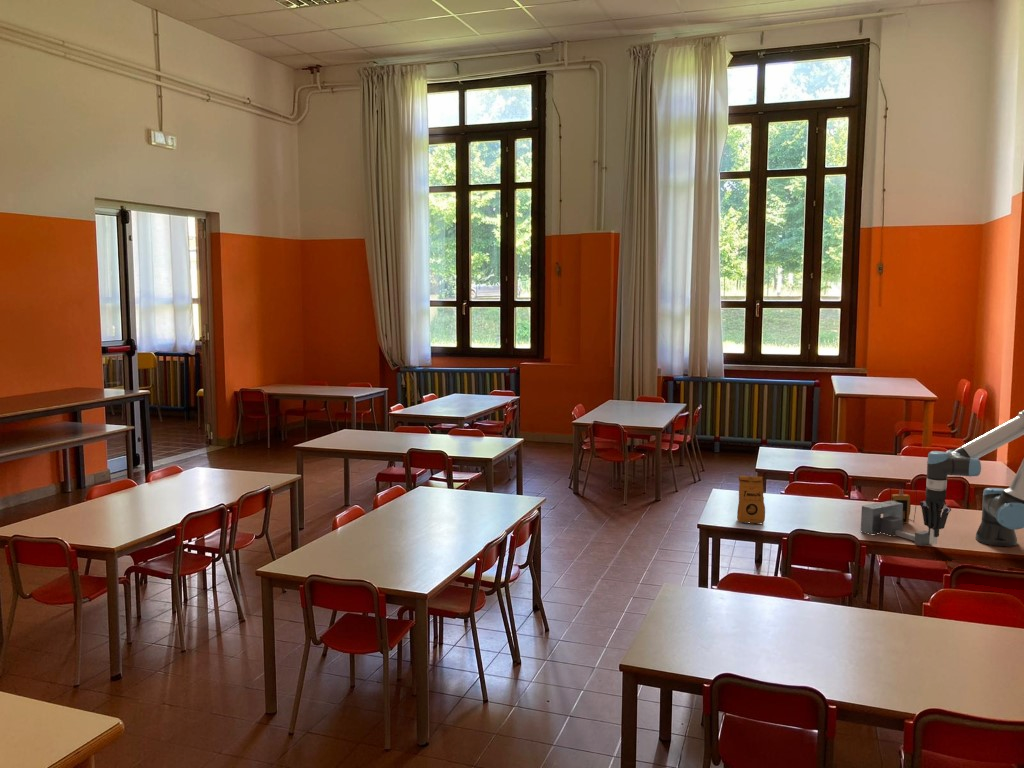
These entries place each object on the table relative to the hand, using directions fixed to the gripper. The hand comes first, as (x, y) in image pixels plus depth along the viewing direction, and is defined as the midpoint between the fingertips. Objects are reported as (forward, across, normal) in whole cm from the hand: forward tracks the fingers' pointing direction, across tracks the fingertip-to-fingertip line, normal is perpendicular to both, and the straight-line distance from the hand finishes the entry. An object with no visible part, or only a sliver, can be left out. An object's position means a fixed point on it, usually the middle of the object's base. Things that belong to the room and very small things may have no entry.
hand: (933, 543), depth 335 cm
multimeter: (+2, -33, +20) cm, 39 cm away
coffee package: (+2, -63, -42) cm, 75 cm away
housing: (+2, -26, 0) cm, 26 cm away
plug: (+1, -13, 0) cm, 14 cm away
